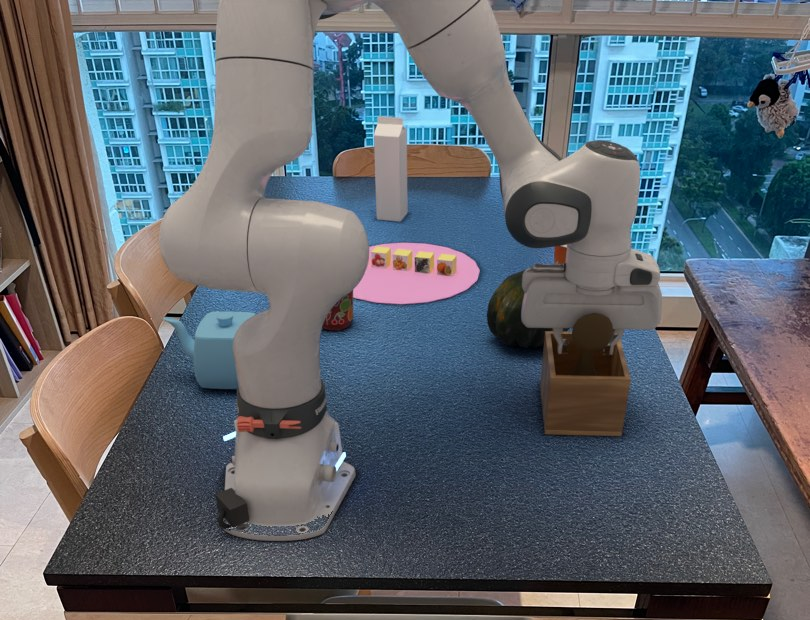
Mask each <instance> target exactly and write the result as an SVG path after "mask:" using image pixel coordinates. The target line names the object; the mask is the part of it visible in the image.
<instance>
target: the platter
mask: <svg viewBox="0 0 810 620" xmlns="http://www.w3.org/2000/svg"><path fill="white" fill-rule="evenodd" d="M480 271H481V270H480V268H479V267H478V264H477V262H476V261H475V260H474V259H473V258H471V257H469V256H468V255H467V254H465V253H464V252H461V251H458V250H456V249H453V248H451V247H447V246H441V245H437V244H436V245H435V244H431V243H421V242H420V243H418V242H394V243H393V242H392V243H381V244H376V245H371V246H370V245H369V261H368V266H367V269H366V272H365V274H364V276H363V278H362V279H361V281H360V282H359V284H358V285H357V286H356V287H355V288H354V289H353V299H356V300H360V301H364V302H370V303H374V304H381V305H382V304H384V305H399V306H400V305H401V306H402V305H404V306H405V305H415V304H416V305H417V304H427V303H433V302H437V301H441V300H445V299H450V298H452V297H455V296H457V295H459V294H461V293H463V292H466V291H468V290H469V289H470V288H471V287H472V286H473V285H475V284H476V283H477V282H478V280H479V276H480Z"/></svg>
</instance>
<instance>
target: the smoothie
mask: <svg viewBox="0 0 810 620" xmlns="http://www.w3.org/2000/svg"><path fill="white" fill-rule="evenodd" d="M353 318H354V298H353V290H352V291H351V292H350V293H348V294H347V295H345V296H344V297H342V298H341V299H340V300H339V301H338V302H337V303H336V304H335V305H334V306H333V307H332V309H331V310H330V311H329V313H328V315H327V316H326V318H325V320H324V323H323V326H322V329H324V330H327V331H340V330H344V329H346V328H348V327H350V325H351V321H352V320H353Z"/></svg>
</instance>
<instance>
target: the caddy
mask: <svg viewBox="0 0 810 620" xmlns="http://www.w3.org/2000/svg"><path fill="white" fill-rule="evenodd" d="M561 336H562V338H563V339H568V342H569V348H568V354H558V342H557V340H556V338H555V337H554V335H553V331H545V339H544V347H543V350H542V351H543V352H542V360H541V361H542V362H541V371H540V372H541V373H540V383H539V389H540V397H541V409H542V416H543V417H542V418H543V419H542V420H543V428H544V435H555V436H557V435H558V436H560V435H561V436H595V437H596V436H597V437H598V436H600V437H601V436H603V437H622V435H623V429H624V423H625V417H626V413H627V405H628V399H629V394H630V389H631V381H632V377H631V374H630V371H629V367H628V362H627V358H626V355H625V351H624V347H623V343H622V340H621V339H622V338H621V339H620V340H619V341H618V342H617V343H616V344H615V345H614V349H613V354H612V355H603V354H602V350H600V351H595V352H592V355H593V364H594V369H595V371H596V372H597V373H598V376H570V375H571V372H572V371H573V370H574V369H575V367H576V364H577V361H578V357H579V353H580V350H579V349H577V348H576V346H575V345H574V343H573V341H572V331H567V332H563V334H561Z"/></svg>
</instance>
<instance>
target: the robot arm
mask: <svg viewBox="0 0 810 620" xmlns="http://www.w3.org/2000/svg"><path fill="white" fill-rule="evenodd" d="M369 2H370V3H373V4H374V5H376V6H377V7H378V8H380V9H381V10H382V11H383V13H385V15H386V16H387V17H388V18H389V19H390V20H391V22H392V23H393V25H394V27H395V28H396V31H397V33H398V35H399V37H400V39H401V41H402V43H403V45H404V47H405V49H406V50H407V52H408V55H409V56H410V58H411V59H412V62H413V63H414V65H415V66H416V67H417V69H418V71H419V72H420V74H421V75H422V76H423V78H424V79H425V81H426V82H427V83H428V84H429V85H430V87H431V88H432V89H433V90H434V92H436V94H437V95H439V96H440V97H442V98H444V99H447V100H452V101H454V102H457V103H458V104H460V105H461V106H462V107H464V108H465V110H466V111H467V112H468V113H469V114H470V116H471V117H472V119H473V120H474V122H475V125H476V126H477V127H478V130H479V131H480V133H481V135H482V137H483V138H484V140H485V142H486V144H487V145H488V148H489V149H490V151H491V153H492V155H493V157H494V158H495V160H496V163H497V168H498V173H499V174H498V175H499V191H500V194H501V198H502V202H503V213H504V220H505V225H506V228H507V231H508V233H509V234H510V236H511V237H512V238H513V239H514V240H515V241H516V242H517V243H518V244H520V245H522V246H524V247H527V248H531V249H547V248H555V246H562V245H567V252H566V261H565V264H554V263H549V264H548V263H547V264H545V263H534V264H533V266H529V267H527V268H526V269H524V270H525V271H524V273H523V275H522V289H523V291H524V292H525V293H524V297H523V303H522V310H521V319H522V322H523V324H524V325H525V326H526V327H528V328H552V329H553V335H554V337H555V338H556V340H557V342H558V354H568V348H569V342H568V339H563V338H562V336H561V334H563V328H569V329H573V326H574V324H575V323H576V321H577V320H578V319H579V318H581V317H582V316H584V315H587V314H592V313H596V314H603V315H605V316H606V317H608V318H609V319H610V321H611V322H612V325H613V335H612V339H611V341H610V343H609V344H608V345H607V347H605V348H603V349H602V354H603V355H612V354H613V349H614V345H615V344H616V343H617V342H618V341H619V340H620V339H622V337H623V336H624V333H625V330H632V331H633V330H638V331H653V330H655V329H656V328H657V327H658V326H659V325H660V324H661V318H662V311H663V294H662V290H661V287H660V284H659V283H660V280H661V270H660V266H659V263H658V262H657V260H656V259H655V257H654V256H653V255H652V254H649V253H646V252H644V251H641V250H638V249H634V248H632V235H631V231H632V226H633V224H634V222H635V219H636V216H637V211H638V203H639V197H640V183H641V167H640V162H639V160H638V158H637V156H636V155H635V153H633V151H631V149H629V147H627V146H624V145H622V144H619V143H617V142H613V141H608V140H600V139H599V140H589V141H586V142H585V143H584V144H583V145H582V146H581V147H580V148H579V149H578V150H576V151H574V152H573V153H571V154H570V155H568V156H566V157H564V158H562V156H560V154H558V153H557V152H556V151H555V150H554V149H552V148H551V147H549V146H548V145H547V144H546V143H544V142H543V141H542V140H541V139H540V138H539V137H538V135H537V134H536V133H535V131H534V129H533V127H532V125H531V123H530V121H529V119H528V117H527V115H526V113H525V111H524V109H523V107H522V105H521V103H520V101H519V99H518V97H517V95H516V93H515V91H514V89H513V87H512V84H511V82H510V78H509V74H508V69H507V68H508V67H507V61H506V59H507V58H506V50H505V46H504V42H503V38H502V34H501V32H500V28H499V25H498V22H497V19H496V17H495V14H494V11H493V9H492V7H491V4H490V2H489V0H218V7H217V14H216V16H217V17H216V25H215V26H216V28H215V44H214V45H215V49H214V51H215V52H214V54H215V55H214V56H215V57H214V62H215V65H214V67H215V68H214V71H215V74H214V77H215V79H214V80H215V85H214V87H215V89H214V91H215V92H214V117H213V130H212V138H211V142H210V147H209V149H208V150H209V151H208V153H207V157H206V159H205V161H204V163H203V166H202V168H201V170H200V172H199V174H198V176H197V177H196V179H195V180H194V182H193V183H192V184H191V185H190V187H189V188H188V189H187V190H186V191H185V192H184V193H183V194H182V195H181V196H180V197H179V198H177V199H176V200H175V201H173V202H172V203H171V204H170V206H169V207H168V208H167V210H166V211H165V213H164V215H163V216H162V219H161V222H160V226H159V230H158V246H159V251H160V255H161V257H162V260H163V262H164V264H165V266H166V268H167V269H168V270H169V272H170V273H171V274H172V276H173V277H174V278H176V279H177V280H178V281H179V280H180V281H182V282H185V283H188V284H192V285H194V286H199V287H202V288H205V289H206V288H207V289H210V290H214V291H229V292H240V293H253V294H254V293H255V294H261V295H265V296H266V297H267V300H268V303H269V308H267V309H265V310H262V311H260V312H258V313H255V314H256V315H254V316H252V317H250V318H249V319H248V320H246V321H245V322H244V323H243V324H242V325H241V326H240V327H239V328H238V330H237V332H236V334H235V336H234V340H233V353H234V360H235V366H236V373H237V379H238V386H239V387H238V389H236V401H235V402H236V403H235V404H236V411H237V418H236V419H235V420H233V424H234V430H235V431H233V432H230V433H229V434H226V435H223V436H222V438H223V441H224V442H226V441H229V440H231V439H233V438H234V439H235V441H234V455H232V456H231V458H230V462H229V463H228V464H227V465H226V466H225V477H224V490H222V491H220V492H217V493H215V494H214V496H215V502H216V507H217V512H218V513H219V514H218V516H217V523H218V525H219V527H220V528H221V529H223V531H224V532H226V533H228V534H229V535H232V536H235V537H239V538H242V539H248V540H256V541H267V542H268V541H269V542H289V541H290V542H291V541H292V542H293V541H299V540H300V541H301V540H307V539H311V538H315V537H318V536H321V535H323V534H325V532H326V531H327V530H328V528H329V526H330V524H331V522H332V520H333V519H334V517H335V516H336V515H335V514H336V513H337V511H338V509H339V508H340V505H341V504H342V502H343V500H344V498H345V497H346V494H347V493H348V491H349V489H350V487H351V485H352V483H353V482H354V481H355V480H354V479H355V478H356V475H357V474H356V469H355V467H354V466H353V465H351V464H350V463H348V462H346V461H344V460H345V458H346V457H347V454H346V451H344V452H343V447H342V439H341V432H340V424H339V423H338V422H337V421H336V419H334V418H333V417H332V416H331V415H330V414H329V412H328V411H327V409H328V406H327V400H328V399H327V398H328V397H327V391H326V387H325V383H324V380H323V379H322V376H321V360H320V359H321V333H322V329H323V328H322V326H323V323H324V320H325V318H326V316H327V315H328V313H329V311H330V310H331V309H332V307H333V306H334V305H335V304H336V303H337V302H338V301H339V300H340V299H341V298H342V297H344V296H345V295H347V294H348V293H350V292H351V291H352V290H353V289H354V288H355V287H356V286H357V285H358V284H359V282H360V281H361V279H362V278H363V276H364V274H365V272H366V269H367V266H368V261H369V247H370V242H369V238H368V235H367V231H366V229H365V227H364V224H363V223H362V221H361V219H360V218H359V217H358V216H357V215H356V213H355V212H354V211H353V210H350V209H346V208H343V207H339V206H336V205H332V204H328V203H325V202H321V201H317V200H303V199H301V200H300V199H283V198H267V197H265V194H266V188H267V185H268V183H269V180H270V179H271V176H272V175H273V173H274V172H275V171H276V170H278V169H280V168H283V167H284V166H286V165H288V164H290V163H292V162H293V161H296V160H297V159H298V158H299V157H300V156H302V155H303V154H304V153H305V152H306V150H307V148H308V147H309V145H310V143H311V141H312V137H313V117H314V116H313V114H314V113H313V111H314V74H315V73H314V71H315V70H314V68H315V67H314V63H315V60H314V58H315V57H314V55H315V54H314V53H315V51H314V41H315V36H316V30H317V26H318V23H319V21H321V20H322V21H323V20H326V19H329V18H332V17H335V16H336V15H338V14H340V13H346V12H350V11H354V10H357V9H358V8H360V7H362V6H363V5H365V4H367V3H369ZM532 269H533V271H530V270H532ZM332 511H333V512H332ZM331 512H332V514H331ZM328 514H329V515H330V514H331V515H330V517H329V519H328V521H327V523H326V524H325V526H324V527H323V528H322V529H320V530H317V531H314V532H310V533H306V534H300V535H289V536H267V535H254V534H247V533H242V532H238V531H244V530H247V529H248V528H249V525H248V524H244V523H245V522H247V523H252V524H255V525H261V526H267V527H268V526H270V527H272V526H295V525H301V524H306V523H308V522H311V521H315V520H314V519H318V518H317V516H318V517H320V518H322V517H325V516H326V517H328ZM322 515H324V516H322ZM224 518H225V520H226V521H227V522H228V523H229V524H230V525H229V524H226V523H225V522H224V521H223V519H224ZM231 526H232V527H236V526H237V527H236V529H237V530H238V531H235V530H232V529H229V530H226V528H229V527H231ZM308 530H309V528H308V527H307V526H304V525H302V526H298V527H297V528H296V531H297V532H299V533H305V532H307V531H308Z"/></svg>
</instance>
